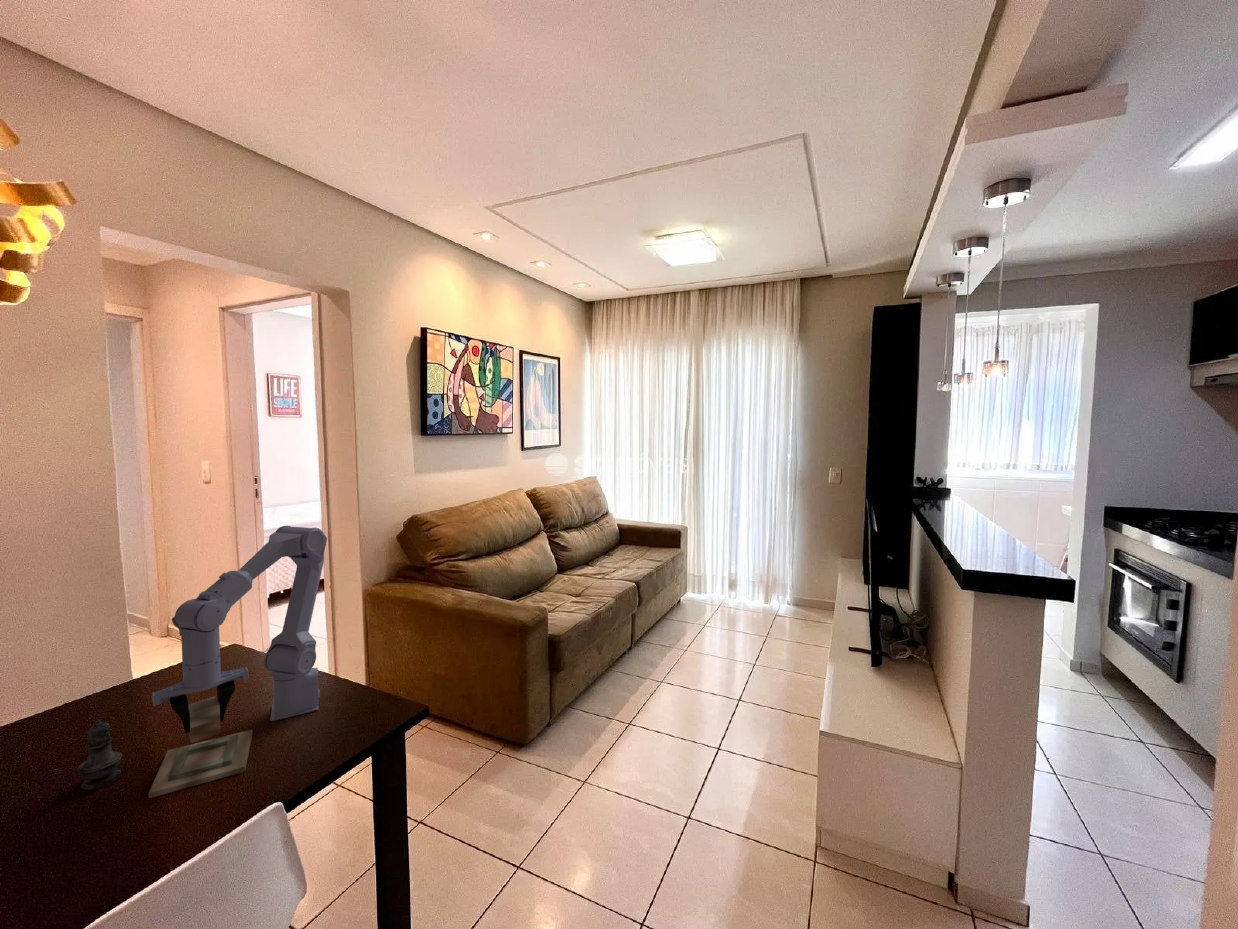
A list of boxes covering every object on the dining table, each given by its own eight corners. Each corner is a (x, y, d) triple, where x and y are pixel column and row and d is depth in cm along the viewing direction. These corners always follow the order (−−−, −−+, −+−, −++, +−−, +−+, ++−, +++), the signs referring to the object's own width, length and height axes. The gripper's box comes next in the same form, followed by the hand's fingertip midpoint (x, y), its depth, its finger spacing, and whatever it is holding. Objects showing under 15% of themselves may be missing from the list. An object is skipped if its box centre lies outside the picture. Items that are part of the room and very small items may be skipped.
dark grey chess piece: (94, 793, 90) (90, 730, 89) (69, 788, 91) (66, 726, 90) (131, 771, 96) (128, 712, 95) (108, 767, 97) (105, 708, 96)
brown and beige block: (216, 723, 101) (215, 696, 101) (220, 733, 98) (219, 704, 98) (188, 733, 98) (186, 704, 98) (191, 743, 95) (189, 713, 95)
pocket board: (252, 733, 108) (252, 725, 108) (245, 771, 96) (244, 762, 96) (168, 754, 101) (167, 746, 101) (148, 798, 89) (148, 789, 89)
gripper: (242, 642, 105) (244, 703, 106) (149, 664, 95) (152, 732, 95) (249, 652, 100) (252, 716, 101) (152, 677, 90) (155, 748, 91)
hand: (204, 725), depth 98 cm, fingers closed on brown and beige block, 4 cm apart
